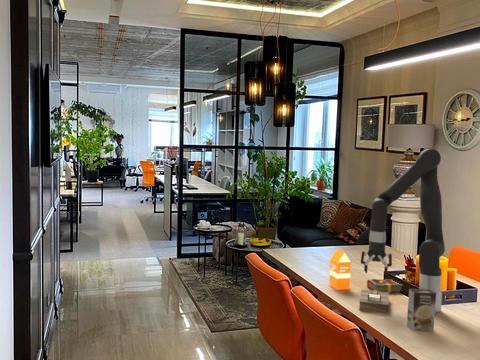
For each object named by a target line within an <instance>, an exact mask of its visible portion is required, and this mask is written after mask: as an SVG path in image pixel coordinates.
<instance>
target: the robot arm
mask: <svg viewBox="0 0 480 360" xmlns="http://www.w3.org/2000/svg"><path fill="white" fill-rule="evenodd" d="M441 160H442V157H441V153H440V152H439V151H438V150H437V149H434V148H426V149H424V150H422V151H420V153H419V155H418V156H417V159H416V161H415V162H414V163H413V165H411V167H409V169H407V171H405V172H404V173H403V174H401V175H400V176H399V177H398V178H396V180H394V181H393V182H392V183H391V184H390V185H389V186H388V187H387V188H386V189H385V190H384V191H382V192H381V193H380V194H379V195H377V196H376V197H375V198H374V199H373V200H372V202H371V206H370V207H371V220H370V230H369V235H368V236H369V237H368V251H366V250H362V251H361V257H360V264H362V265H364V266H363V267H364V272H365V274H368V267H369V266H368V264H369V263H371V262H378V263H380V262H381V263H382V264H383V265H384V269H383V270H384V271H383V273H384V274H383V276H386V275H387V274H388V269H389V267H392V266H393V262H392V261H393V260H392V259H393V258H392V256H393V255H392V254H393V253H391V252H389V253H386V241H387V235H386V233H387V232H386V227H387V222H386V221H387V216H388V207H389V206H390V205H391V204H392V203H393V202H395V201H397V200H398V199H400V198H401V197H402V196H403V195H404V194H405V193H406V192H407V191H408V190H409V189H410V188H411V187H412V186H413V185H414V184H415V183H417V181H418V180H419V179H420V186H419V187H420V188H419V189H420V190H419V192H420V193H419V202H420V203H419V204H420V206H419V207H420V214H421V216H422V220H423V222H424V226H425V231H426V232H425V240H424V241H423V242H422V243H421V244H420V246H419V251H418V267H419V285H418V286H419V287H418V289H430V290H431V291H433V292H435V293H436V302H435V314H437V313H440V312H441V311H442V303H443V302H442V300H443V290H441V286H442V284H441V283H442V268H441V266H440V259H441V257H443V255H444V253H445V251H446V249H445V247H446V246H445V240H444V233H443V212H442V210H443V209H442V208H443V205H442V204H443V202H442V194H441V189H440V185H439V181H438V166H439V165H440V162H441ZM366 255H368V258H367V259H366V260H365V256H366ZM385 257H387V259H388V263H387V261H386V260H385ZM364 260H365V261H364Z"/></svg>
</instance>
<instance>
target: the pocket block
mask: <svg viewBox="0 0 480 360" xmlns="http://www.w3.org/2000/svg"><path fill="white" fill-rule="evenodd" d="M369 294H373V291H372V290H370V289H369V290H367V289H361V290H360V297H359V308H358V310H359V311H367V312H371V313H372V312H374V313H381V314H389V313H390V298H389V297H390V296H389V294H390V293H388V292H379V291H377V295H380V302H373V301H369Z"/></svg>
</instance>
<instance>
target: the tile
mask: <svg viewBox="0 0 480 360" xmlns="http://www.w3.org/2000/svg"><path fill="white" fill-rule="evenodd" d="M369 301H373V302H380V295H374V294H369Z"/></svg>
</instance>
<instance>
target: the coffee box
mask: <svg viewBox="0 0 480 360" xmlns="http://www.w3.org/2000/svg"><path fill="white" fill-rule="evenodd" d="M407 302H408V303H407V313H406V314H407V316H406V317H407V318H406V326H407V327H408V328H409V329H410V330H411V331H413V332H434V331H435V315H436V313H435V302H436V293H435V292H433V291H431V290H430V289H419V288H409V289H408V301H407Z"/></svg>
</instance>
